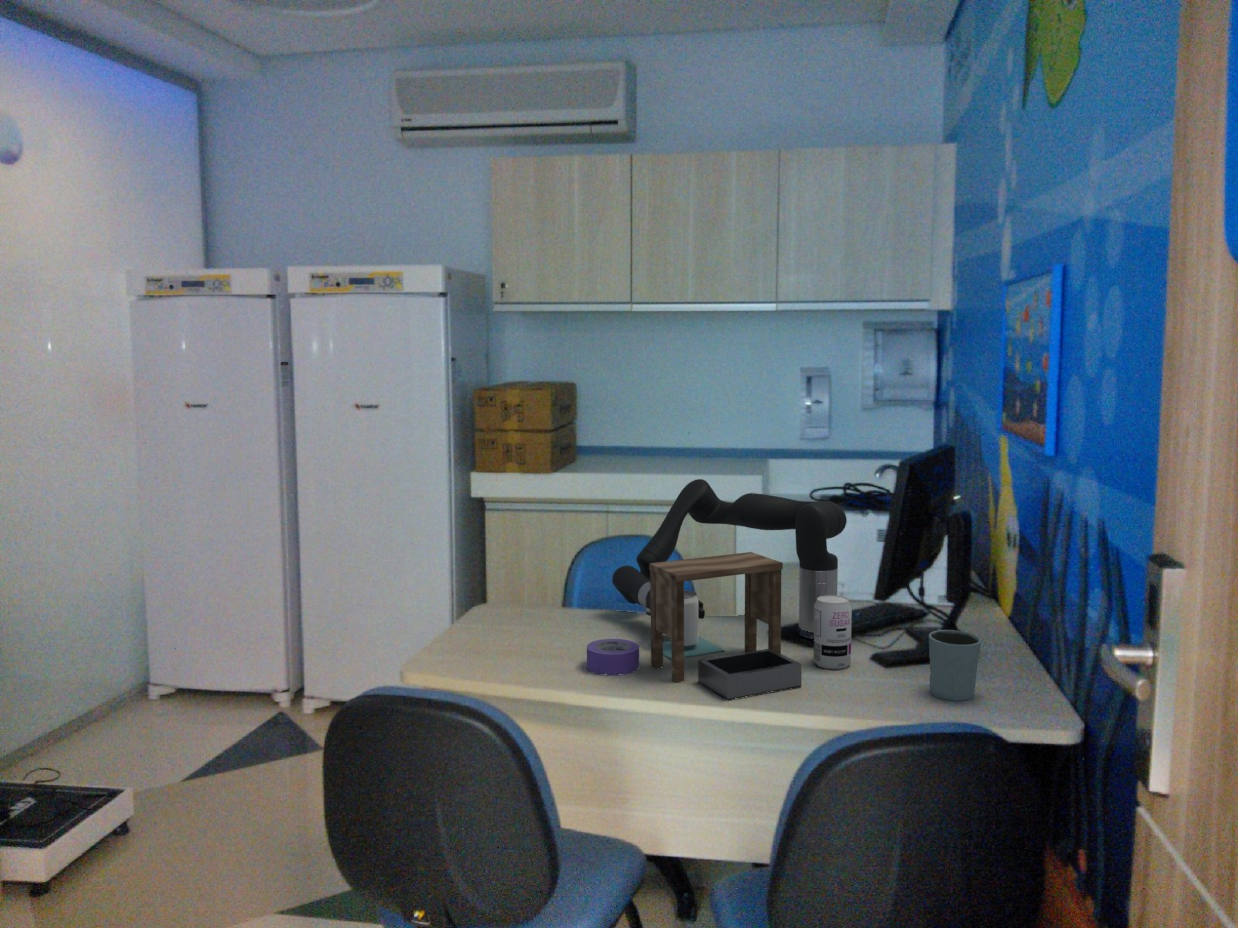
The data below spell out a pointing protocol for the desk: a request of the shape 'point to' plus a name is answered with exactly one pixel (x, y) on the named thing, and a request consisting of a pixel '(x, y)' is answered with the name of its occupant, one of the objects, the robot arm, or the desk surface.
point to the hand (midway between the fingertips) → (690, 616)
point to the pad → (692, 648)
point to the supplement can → (832, 632)
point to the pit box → (749, 673)
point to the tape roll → (612, 656)
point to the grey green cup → (953, 664)
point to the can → (690, 618)
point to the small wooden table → (672, 574)
